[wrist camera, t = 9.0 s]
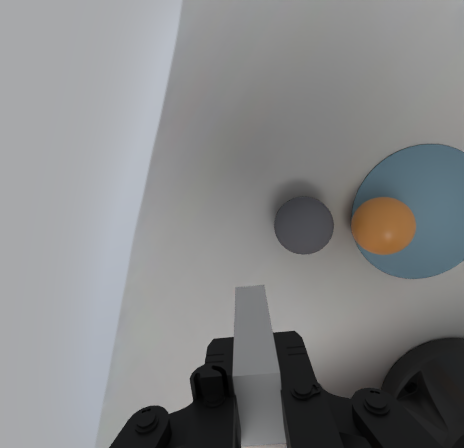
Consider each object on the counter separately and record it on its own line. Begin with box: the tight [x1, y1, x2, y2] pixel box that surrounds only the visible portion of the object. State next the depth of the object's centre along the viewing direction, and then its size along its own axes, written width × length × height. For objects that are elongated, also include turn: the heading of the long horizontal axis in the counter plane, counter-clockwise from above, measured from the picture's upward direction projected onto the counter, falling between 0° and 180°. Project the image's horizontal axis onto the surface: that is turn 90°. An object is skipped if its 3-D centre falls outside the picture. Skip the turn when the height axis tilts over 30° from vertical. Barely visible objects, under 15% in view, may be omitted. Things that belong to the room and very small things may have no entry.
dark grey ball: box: [274, 197, 334, 254], centre depth 29 cm, size 6×6×6 cm
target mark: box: [352, 144, 464, 279], centre depth 31 cm, size 14×14×1 cm
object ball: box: [351, 197, 416, 255], centre depth 29 cm, size 6×6×6 cm
